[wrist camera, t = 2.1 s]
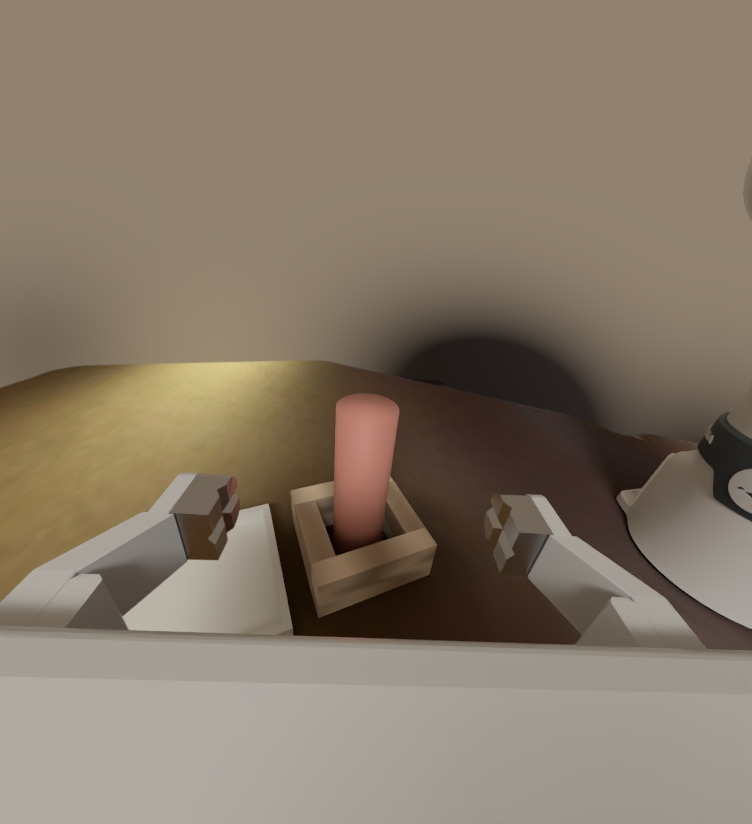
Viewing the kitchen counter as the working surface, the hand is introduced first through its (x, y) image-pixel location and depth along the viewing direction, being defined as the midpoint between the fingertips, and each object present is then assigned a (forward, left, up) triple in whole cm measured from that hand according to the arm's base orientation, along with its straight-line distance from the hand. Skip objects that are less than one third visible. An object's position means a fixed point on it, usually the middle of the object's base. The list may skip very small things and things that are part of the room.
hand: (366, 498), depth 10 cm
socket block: (-5, -11, -18) cm, 22 cm away
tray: (+8, -11, -18) cm, 23 cm away
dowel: (-5, -11, -18) cm, 22 cm away
